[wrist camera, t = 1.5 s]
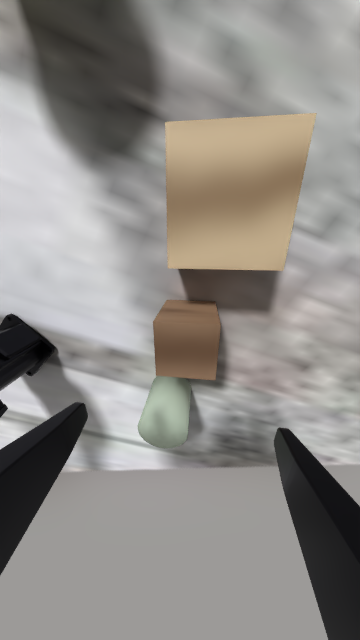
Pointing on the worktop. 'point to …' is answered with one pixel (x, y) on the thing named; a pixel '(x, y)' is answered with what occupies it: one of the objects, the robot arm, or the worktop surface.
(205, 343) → the walnut cube
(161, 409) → the sage cylinder
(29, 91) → the worktop surface
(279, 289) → the worktop surface
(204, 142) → the oak block
